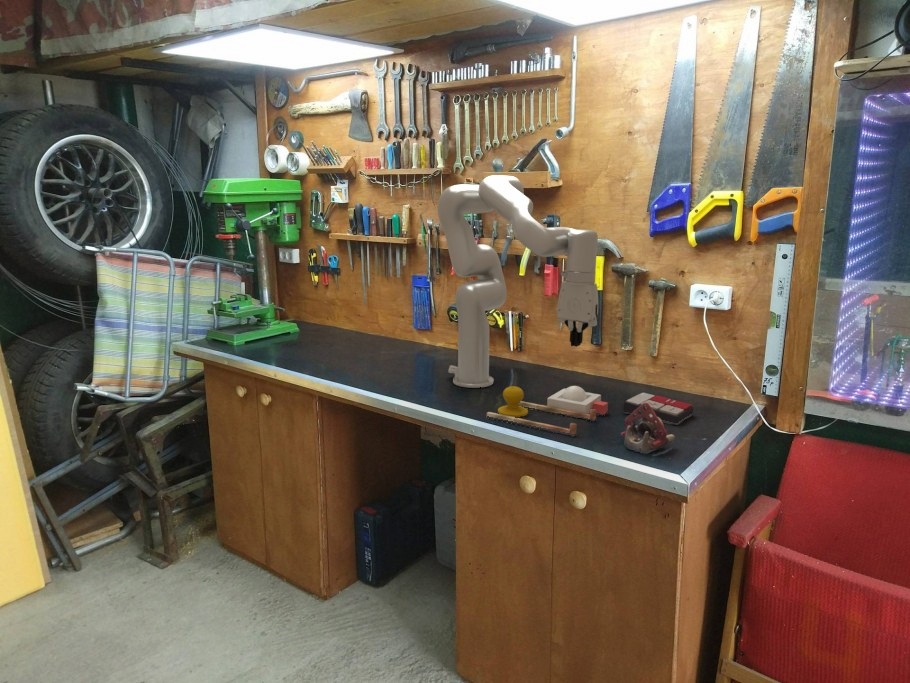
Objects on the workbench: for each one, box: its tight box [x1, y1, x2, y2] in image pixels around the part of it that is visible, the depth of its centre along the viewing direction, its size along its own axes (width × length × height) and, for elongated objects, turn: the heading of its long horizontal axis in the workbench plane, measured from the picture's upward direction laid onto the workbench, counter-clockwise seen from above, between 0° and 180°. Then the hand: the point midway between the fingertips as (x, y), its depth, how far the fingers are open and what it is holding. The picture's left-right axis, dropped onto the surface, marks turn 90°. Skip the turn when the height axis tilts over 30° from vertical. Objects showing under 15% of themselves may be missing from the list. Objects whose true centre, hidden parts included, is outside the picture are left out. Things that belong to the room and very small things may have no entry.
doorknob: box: [497, 385, 529, 417], centre depth 179 cm, size 8×8×8 cm
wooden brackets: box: [486, 400, 597, 435], centre depth 175 cm, size 25×15×3 cm, turn 57°
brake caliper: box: [620, 402, 676, 451], centre depth 156 cm, size 11×11×12 cm
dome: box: [563, 385, 586, 402], centre depth 183 cm, size 6×6×6 cm
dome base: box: [546, 388, 609, 414], centre depth 182 cm, size 14×11×4 cm
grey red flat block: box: [622, 392, 695, 423], centre depth 179 cm, size 11×4×15 cm
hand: (575, 345), depth 180 cm, fingers closed
